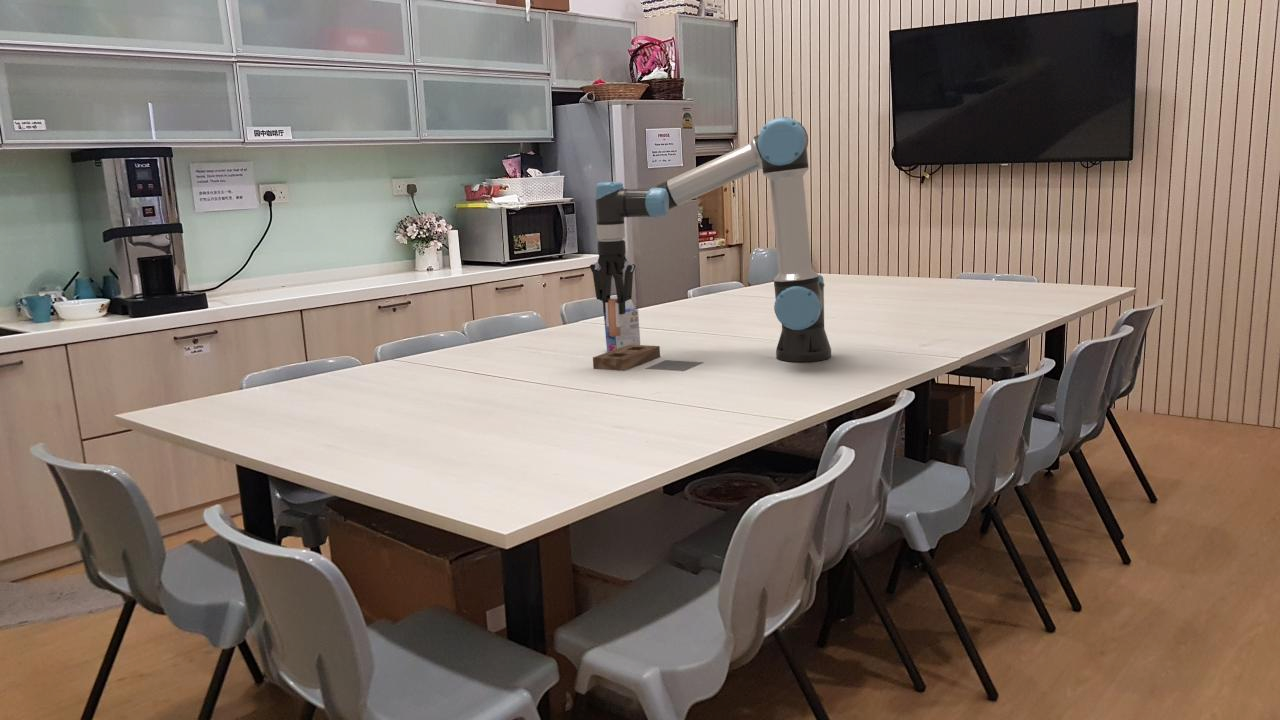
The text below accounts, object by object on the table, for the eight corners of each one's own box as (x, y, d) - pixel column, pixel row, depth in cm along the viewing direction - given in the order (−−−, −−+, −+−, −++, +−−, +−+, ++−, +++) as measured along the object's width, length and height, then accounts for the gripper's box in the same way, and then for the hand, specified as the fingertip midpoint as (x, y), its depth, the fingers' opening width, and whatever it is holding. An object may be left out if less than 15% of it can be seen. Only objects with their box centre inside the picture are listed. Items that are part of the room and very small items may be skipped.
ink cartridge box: (629, 346, 306) (627, 300, 303) (641, 348, 302) (639, 301, 299) (605, 352, 300) (602, 304, 297) (617, 353, 296) (614, 305, 293)
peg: (622, 334, 274) (621, 298, 272) (616, 336, 272) (615, 300, 270) (613, 334, 276) (612, 298, 274) (607, 335, 273) (606, 299, 271)
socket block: (660, 358, 286) (659, 346, 285) (624, 372, 269) (624, 359, 268) (630, 356, 291) (629, 344, 290) (593, 369, 274) (592, 357, 273)
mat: (704, 363, 274) (703, 362, 274) (684, 372, 264) (684, 371, 264) (665, 361, 280) (665, 360, 280) (644, 369, 270) (644, 368, 270)
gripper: (643, 238, 268) (646, 324, 273) (594, 238, 276) (598, 322, 280) (629, 241, 262) (632, 329, 266) (579, 240, 269) (583, 326, 274)
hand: (615, 325), depth 273 cm, fingers closed on peg, 2 cm apart
